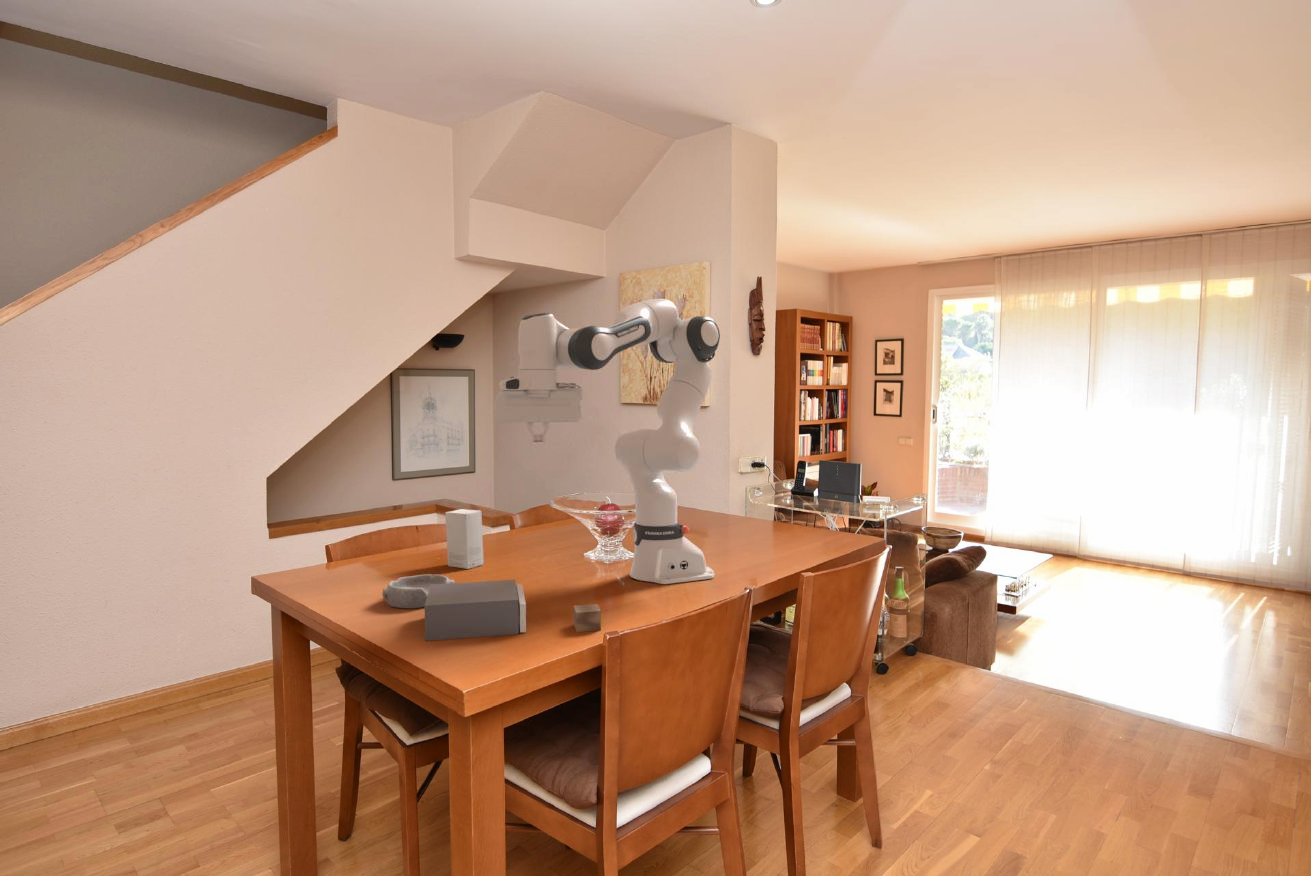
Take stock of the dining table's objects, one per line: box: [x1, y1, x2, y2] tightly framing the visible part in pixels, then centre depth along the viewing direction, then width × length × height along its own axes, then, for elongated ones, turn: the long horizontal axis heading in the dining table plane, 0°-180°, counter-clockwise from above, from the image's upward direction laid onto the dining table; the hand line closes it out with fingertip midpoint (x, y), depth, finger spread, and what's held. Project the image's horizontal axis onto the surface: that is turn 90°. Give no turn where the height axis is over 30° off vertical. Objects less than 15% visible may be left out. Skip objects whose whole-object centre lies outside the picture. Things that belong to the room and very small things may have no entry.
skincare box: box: [444, 508, 484, 570], centre depth 201 cm, size 8×7×16 cm
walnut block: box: [572, 603, 602, 633], centre depth 148 cm, size 5×5×4 cm
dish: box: [382, 573, 455, 609], centre depth 167 cm, size 14×14×5 cm
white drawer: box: [516, 583, 527, 633], centre depth 150 cm, size 18×16×6 cm
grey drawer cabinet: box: [424, 579, 520, 642], centre depth 150 cm, size 18×16×7 cm
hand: (538, 441), depth 168 cm, fingers closed
